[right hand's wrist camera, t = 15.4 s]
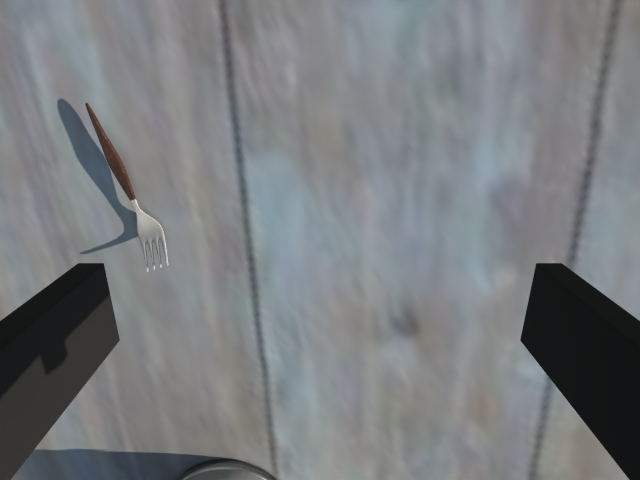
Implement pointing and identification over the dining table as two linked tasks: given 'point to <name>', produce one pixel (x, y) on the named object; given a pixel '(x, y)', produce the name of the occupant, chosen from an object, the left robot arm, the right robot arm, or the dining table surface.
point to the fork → (131, 196)
